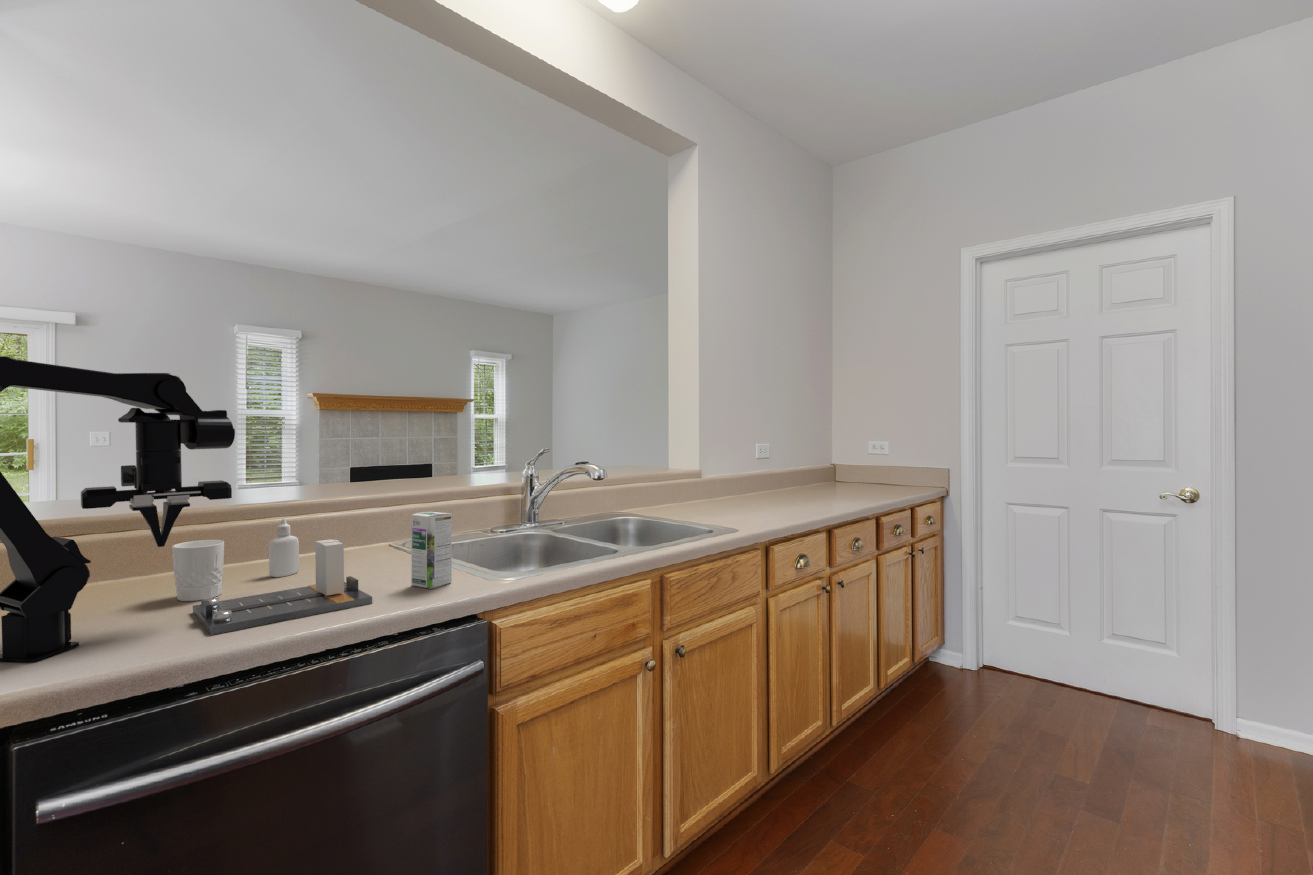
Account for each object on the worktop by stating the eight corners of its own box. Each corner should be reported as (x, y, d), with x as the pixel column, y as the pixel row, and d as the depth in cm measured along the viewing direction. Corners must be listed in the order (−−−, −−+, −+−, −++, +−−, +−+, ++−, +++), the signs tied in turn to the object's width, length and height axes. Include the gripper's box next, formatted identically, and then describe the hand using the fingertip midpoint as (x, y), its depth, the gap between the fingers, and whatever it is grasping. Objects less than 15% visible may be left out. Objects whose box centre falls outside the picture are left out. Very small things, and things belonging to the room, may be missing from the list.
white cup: (197, 603, 112) (196, 548, 111) (161, 601, 113) (160, 546, 113) (235, 592, 119) (234, 540, 119) (201, 589, 121) (200, 538, 121)
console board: (211, 635, 95) (210, 614, 95) (192, 612, 106) (192, 593, 106) (372, 603, 112) (372, 585, 112) (341, 586, 123) (341, 570, 123)
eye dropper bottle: (268, 574, 133) (267, 519, 133) (298, 570, 136) (297, 516, 136) (269, 578, 130) (269, 521, 129) (300, 574, 133) (300, 519, 133)
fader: (326, 595, 111) (325, 544, 111) (315, 589, 115) (314, 540, 115) (344, 592, 113) (343, 542, 113) (333, 586, 117) (332, 538, 117)
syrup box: (410, 586, 124) (409, 513, 123) (433, 579, 129) (432, 510, 129) (430, 589, 121) (429, 515, 121) (453, 582, 126) (452, 512, 126)
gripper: (218, 447, 113) (219, 533, 113) (78, 451, 99) (80, 547, 100) (231, 449, 105) (233, 541, 105) (81, 453, 92) (83, 558, 92)
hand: (160, 546), depth 101 cm, fingers closed
